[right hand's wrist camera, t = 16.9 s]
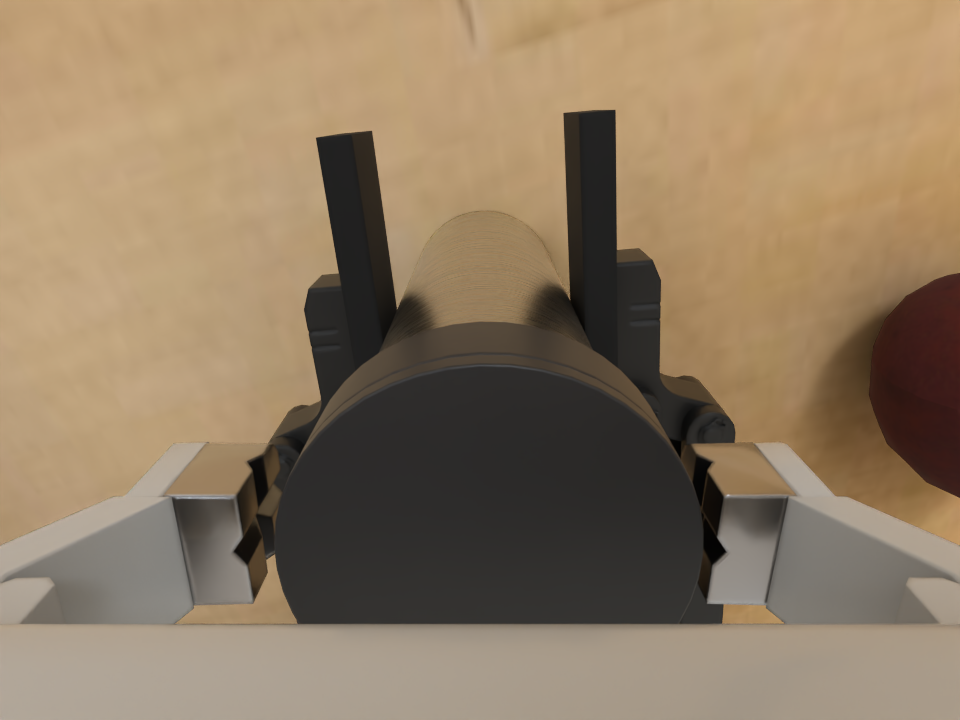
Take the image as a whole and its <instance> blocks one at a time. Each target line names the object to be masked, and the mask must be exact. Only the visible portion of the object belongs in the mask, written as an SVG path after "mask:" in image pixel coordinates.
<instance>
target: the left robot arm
mask: <svg viewBox="0 0 960 720" xmlns="http://www.w3.org/2000/svg"><path fill="white" fill-rule="evenodd" d="M564 138H565V165H566V193H567V220H568V247H569V275H570V302H571V304H572V306H573V308H574V311H575V313H576V315H577V317H578V319H579V321H580V324H581V326H582V328H583V330H584V332H585V334H586V336H587V339H588V341H589V343H590V345H591V347H592V349H593V351H595V352H597V353H598V354H600V355H602V356H603V357H604V358H606V359H607V360H608V361H609V362H611V363H612V364H613V365H614V366H616V367H617V368H618V369H619V370H621V371H622V372H623V373H624V374H625V375H626V376H627V378H628V379H629V380H630V381H631V382H632V383H633V384H634V385H635V386H636V387H637V388H638V390H639V391H640V392H641V394H642V395H643V397H644V398H645V400H646V401H647V402H648V404H649V405H650V407H651V408H652V410H653V412H654V414H655V415H656V417H657V419H658V421H659V422H660V424H661V426H662V428H663V429H664V431H665V433H666V435H667V436H668V438H669V440H670V442H671V443H672V445H673V447H674V449H675V450H676V452H677V454H678V456H679V457H680V459H681V454H682V451H683V448H684V445H688V444H709V443H735V428H734V424H733V422H732V421H731V420H730V418H729V417H728V416H727V415H726V413H725V412H724V410H723V409H722V408H721V407H720V405H719V404H718V403H717V402H716V401H715V399H714V398H713V397H712V396H711V394H710V393H709V392H708V391H707V389H706V388H705V387H704V386H703V385H702V384H701V382H700V381H699V380H697V379H696V378H694V377H692V376H680V377H677V378H674V377H670V376H667V375H663V374H661V373H660V372H659V363H660V300H661V279H660V277H659V275H658V272H657V270H656V267H655V265H654V262H653V260H652V259H651V258H649V257H648V256H647V255H646V254H645V253H644V252H643V251H641V250H640V249H639V248H637V249H625V250H617V227H616V120H615V110H592V111H581V112H570V113H564ZM316 141H317V146H318V152H319V158H320V164H321V170H322V176H323V182H324V188H325V194H326V200H327V205H328V211H329V217H330V223H331V229H332V235H333V241H334V247H335V253H336V259H337V264H338V270H339V274H328V275H322V276H321V277H320V278H319V279H318V280H317V281H316V282H315V283H314V284H313V285H312V286H311V287H310V288H309V289H308V294H307V298H306V303H305V308H304V312H305V317H306V322H307V327H308V330H309V337H310V343H311V346H312V353H313V358H314V363H315V368H316V374H317V379H318V384H319V389H320V394H321V401H319V402H317V403H315V404H313V405H310V406H307V405H300V406H297V407H294V408H293V409H291V410H290V411H289V412H288V413H287V415H286V417H285V418H284V420H283V421H282V423H281V424H280V426H279V427H278V429H277V430H276V432H275V433H274V435H273V437H272V438H271V440H270V441H269V443H268V444H274V446H275V447H276V449H277V450H278V455H279V461H280V467H281V470H280V472H279V474H278V475H277V477H276V479H275V481H274V483H275V485H276V486H277V487H278V488H279V489H280V490H281V491H282V492H283V490H284V487H285V485H286V482H287V480H288V477H289V475H290V473H291V471H292V469H293V467H294V465H295V463H296V462H297V460H298V458H299V456H300V454H301V452H302V450H303V448H304V446H305V445H306V443H307V441H308V439H309V437H310V435H311V433H312V431H313V430H314V428H315V426H316V424H317V422H318V420H319V418H320V417H321V415H322V413H323V411H324V410H325V408H326V406H327V404H328V403H329V401H330V399H331V398H332V397H333V396H334V394H335V393H336V392H337V390H338V389H339V388H340V387H341V385H342V384H343V383H344V382H345V381H346V380H347V379H348V378H349V377H350V376H351V375H352V374H353V373H354V372H355V371H356V370H357V369H358V368H359V367H360V366H361V365H363V364H364V363H366V362H367V361H368V360H370V359H371V358H373V357H374V356H375V355H377V354H378V353H379V351H380V349H381V347H382V344H383V342H384V340H385V337H386V335H387V333H388V330H389V328H390V326H391V323H392V321H393V319H394V316H395V314H396V312H397V307H396V300H395V293H394V286H393V279H392V272H391V264H390V257H389V250H388V243H387V236H386V229H385V221H384V214H383V207H382V200H381V193H380V185H379V178H378V171H377V164H376V157H375V150H374V142H373V135H372V131H366V132H355V133H344V134H337V135H331V136H324V137H318V138H316ZM722 618H723V604H707V603H706V601H705V598H704V596H703V594H702V592H701V590H700V588H699V586H698V584H697V585H696V588H695V591H694V594H693V596H692V599H691V602H690V603H689V605H688V607H687V609H686V611H685V613H684V615H683V617H682V619H681V621H680V622H679V624H722ZM297 623H298V621H297ZM298 624H299V623H298Z"/></svg>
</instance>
